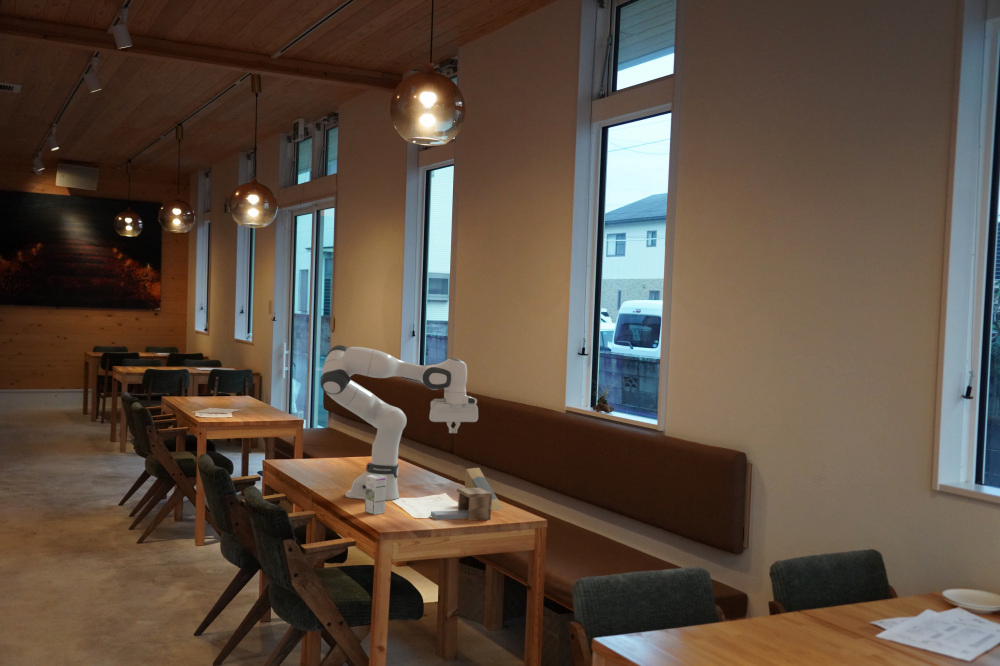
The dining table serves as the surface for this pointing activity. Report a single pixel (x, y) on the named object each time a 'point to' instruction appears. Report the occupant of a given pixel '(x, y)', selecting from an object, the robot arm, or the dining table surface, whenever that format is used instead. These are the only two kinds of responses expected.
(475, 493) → the open wooden box
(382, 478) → the syrup box
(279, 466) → the dining table surface
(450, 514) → the panel
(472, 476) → the sandwich container
